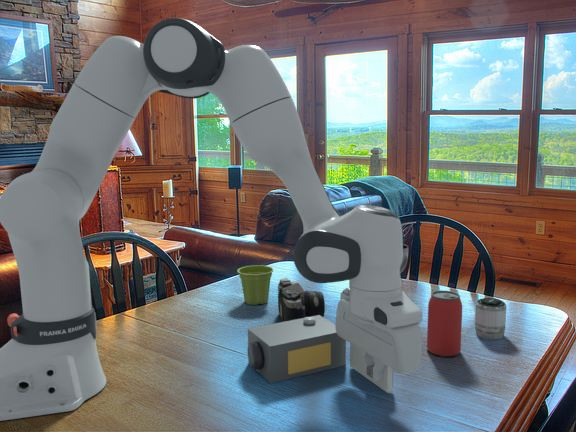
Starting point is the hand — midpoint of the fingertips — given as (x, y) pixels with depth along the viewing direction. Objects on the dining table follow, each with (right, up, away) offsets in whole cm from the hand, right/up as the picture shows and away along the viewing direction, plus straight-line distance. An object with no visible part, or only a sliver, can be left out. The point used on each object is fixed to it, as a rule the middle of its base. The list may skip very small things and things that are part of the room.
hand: (373, 377), depth 98 cm
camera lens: (+29, +2, +25) cm, 38 cm away
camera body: (-13, -1, +11) cm, 17 cm away
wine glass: (+12, +5, +47) cm, 49 cm away
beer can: (+17, 0, +16) cm, 23 cm away
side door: (0, -1, +4) cm, 4 cm away
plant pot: (-23, +5, +49) cm, 55 cm away
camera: (-12, +3, +34) cm, 36 cm away
